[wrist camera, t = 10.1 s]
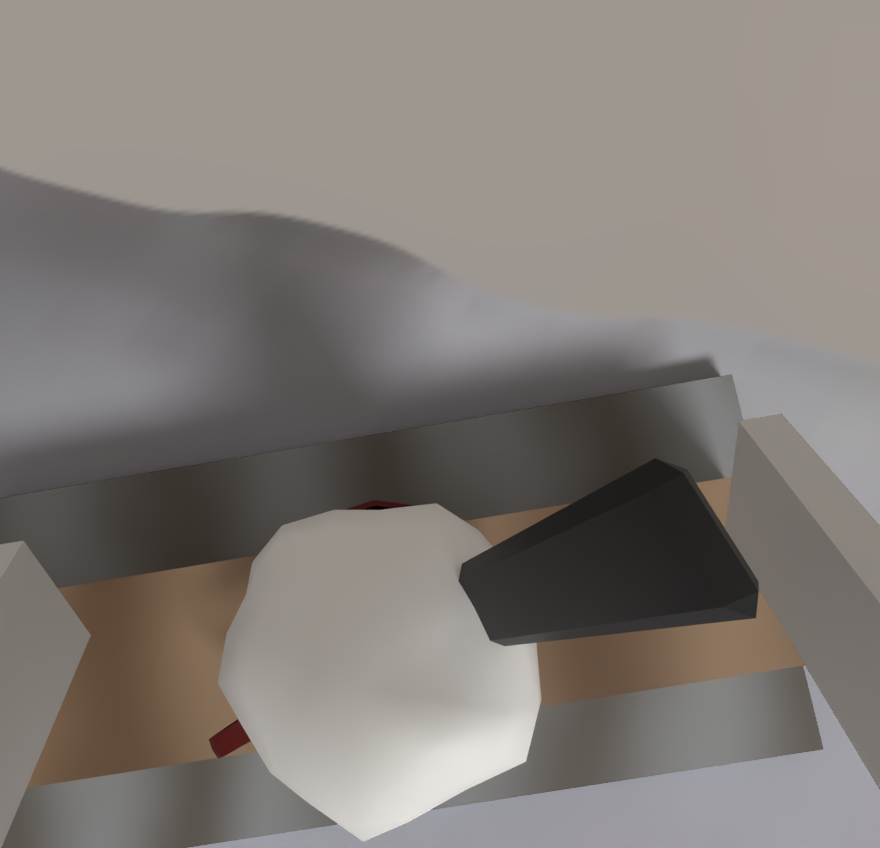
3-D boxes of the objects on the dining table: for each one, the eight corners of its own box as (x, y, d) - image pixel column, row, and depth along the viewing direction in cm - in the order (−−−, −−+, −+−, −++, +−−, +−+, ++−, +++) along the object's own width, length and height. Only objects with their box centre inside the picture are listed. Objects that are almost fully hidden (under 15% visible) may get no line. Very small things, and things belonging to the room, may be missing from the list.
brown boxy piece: (19, 863, 22) (-112, 956, 17) (1, 501, 24) (-119, 492, 19) (810, 741, 22) (909, 801, 17) (723, 379, 24) (787, 338, 19)
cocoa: (264, 759, 18) (-197, 1245, 6) (242, 522, 19) (-201, 547, 7) (623, 719, 17) (889, 1181, 5) (584, 475, 18) (738, 414, 6)
